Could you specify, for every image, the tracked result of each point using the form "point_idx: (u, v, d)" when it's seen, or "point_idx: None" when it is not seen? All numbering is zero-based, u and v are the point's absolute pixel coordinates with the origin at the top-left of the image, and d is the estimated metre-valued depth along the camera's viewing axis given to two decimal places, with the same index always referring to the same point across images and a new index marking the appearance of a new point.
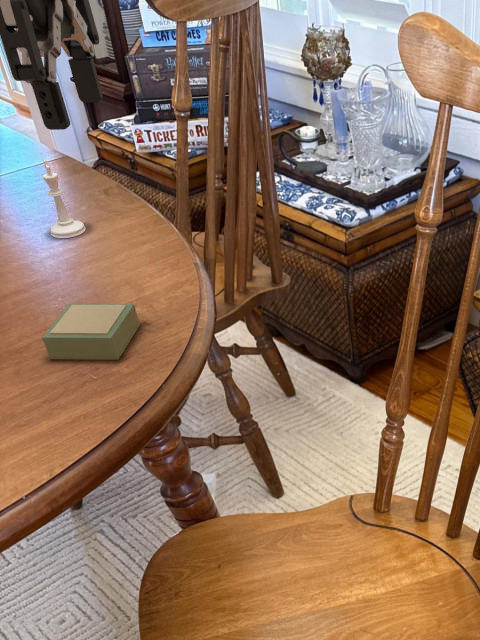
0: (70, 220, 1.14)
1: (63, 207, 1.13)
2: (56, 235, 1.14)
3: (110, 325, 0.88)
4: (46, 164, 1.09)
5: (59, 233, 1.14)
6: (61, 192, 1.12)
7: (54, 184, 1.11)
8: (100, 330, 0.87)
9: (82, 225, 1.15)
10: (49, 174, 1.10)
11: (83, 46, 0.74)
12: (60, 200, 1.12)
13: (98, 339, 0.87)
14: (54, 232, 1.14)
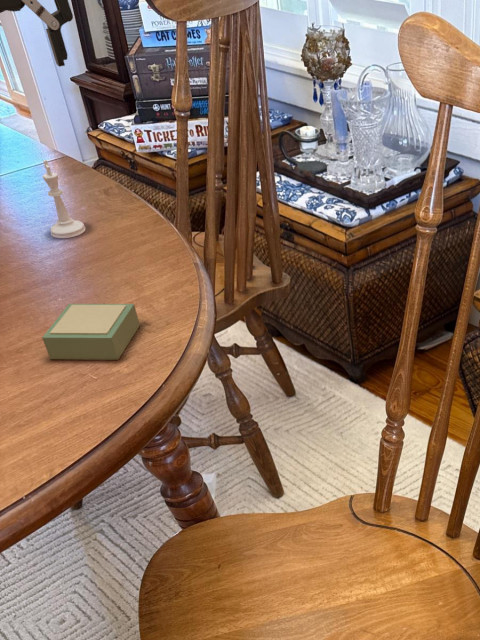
0: (70, 220, 1.14)
1: (63, 207, 1.13)
2: (56, 235, 1.14)
3: (110, 325, 0.88)
4: (46, 164, 1.09)
5: (59, 233, 1.14)
6: (61, 192, 1.12)
7: (54, 184, 1.11)
8: (100, 330, 0.87)
9: (82, 225, 1.15)
10: (49, 174, 1.10)
11: (42, 20, 0.92)
12: (60, 200, 1.12)
13: (98, 339, 0.87)
14: (54, 232, 1.14)
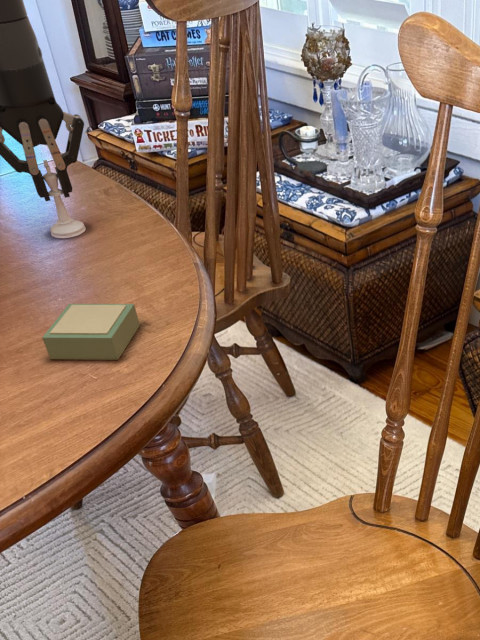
0: (70, 220, 1.14)
1: (63, 207, 1.13)
2: (56, 235, 1.14)
3: (110, 325, 0.88)
4: (46, 164, 1.09)
5: (59, 233, 1.14)
6: (61, 192, 1.12)
7: (54, 184, 1.11)
8: (100, 330, 0.87)
9: (82, 225, 1.15)
10: (49, 174, 1.10)
11: (53, 158, 1.08)
12: (60, 200, 1.12)
13: (98, 339, 0.87)
14: (54, 232, 1.14)
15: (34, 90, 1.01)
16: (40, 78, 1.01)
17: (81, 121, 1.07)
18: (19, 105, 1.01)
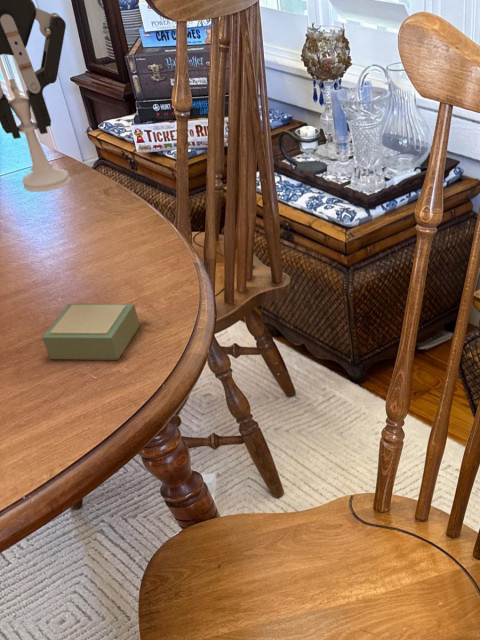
0: (49, 167, 0.83)
1: (39, 148, 0.82)
2: (30, 188, 0.83)
3: (110, 325, 0.88)
4: (13, 85, 0.78)
5: (34, 184, 0.82)
6: (35, 126, 0.80)
7: (25, 113, 0.79)
8: (100, 330, 0.87)
9: (66, 174, 0.84)
10: (18, 99, 0.78)
11: (22, 76, 0.77)
12: (34, 138, 0.81)
13: (98, 339, 0.87)
14: (27, 183, 0.83)
15: None
16: None
17: (61, 21, 0.76)
18: None
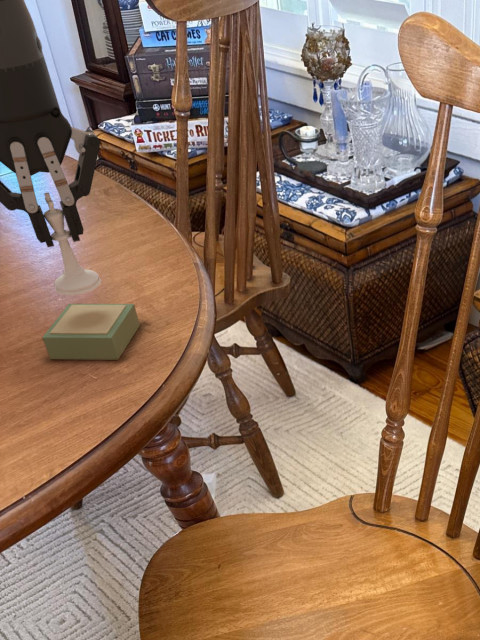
0: (81, 271, 0.85)
1: (71, 254, 0.84)
2: (62, 291, 0.85)
3: (110, 325, 0.88)
4: (48, 198, 0.80)
5: (66, 289, 0.85)
6: (68, 235, 0.83)
7: (59, 224, 0.82)
8: (100, 330, 0.87)
9: (97, 277, 0.86)
10: (52, 211, 0.81)
11: (57, 190, 0.79)
12: (67, 245, 0.83)
13: (98, 339, 0.87)
14: (59, 287, 0.85)
15: (31, 98, 0.72)
16: (40, 80, 0.72)
17: (96, 140, 0.78)
18: (10, 119, 0.72)
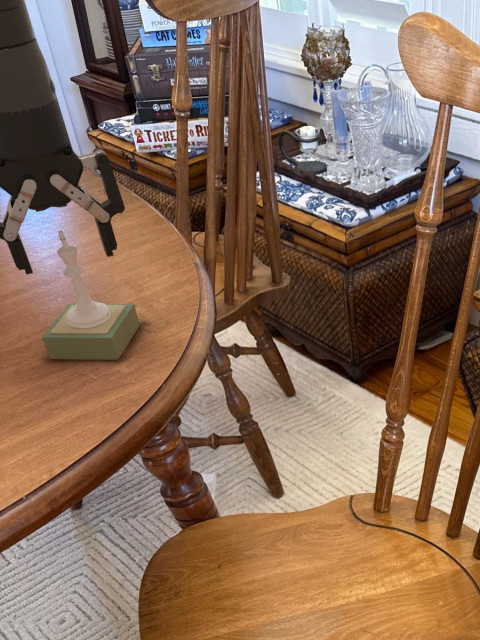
0: (92, 304, 0.88)
1: (83, 289, 0.87)
2: (74, 324, 0.88)
3: (110, 325, 0.88)
4: (62, 236, 0.83)
5: (78, 322, 0.87)
6: (81, 270, 0.85)
7: (72, 260, 0.84)
8: (100, 330, 0.87)
9: (107, 310, 0.89)
10: (65, 248, 0.83)
11: (91, 213, 0.82)
12: (79, 280, 0.86)
13: (98, 339, 0.87)
14: (71, 320, 0.88)
15: (45, 139, 0.74)
16: (53, 121, 0.74)
17: (103, 156, 0.79)
18: (24, 158, 0.74)
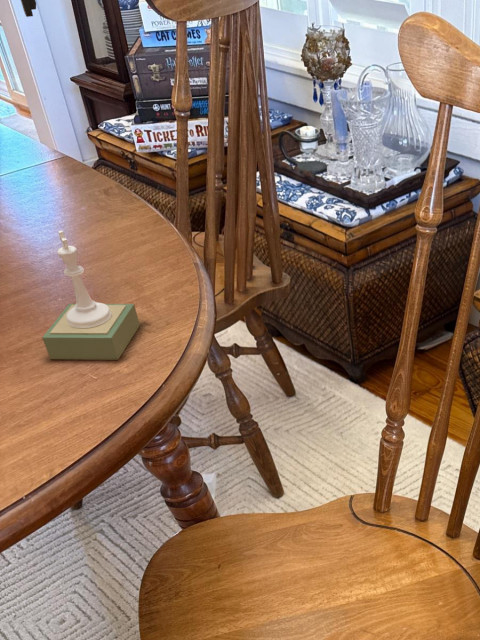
0: (92, 304, 0.88)
1: (83, 289, 0.87)
2: (74, 324, 0.88)
3: (110, 325, 0.88)
4: (62, 236, 0.83)
5: (78, 322, 0.87)
6: (81, 270, 0.85)
7: (72, 260, 0.84)
8: (100, 330, 0.87)
9: (107, 310, 0.89)
10: (66, 248, 0.83)
11: None
12: (79, 280, 0.86)
13: (98, 339, 0.87)
14: (71, 320, 0.88)
15: None
16: None
17: None
18: None
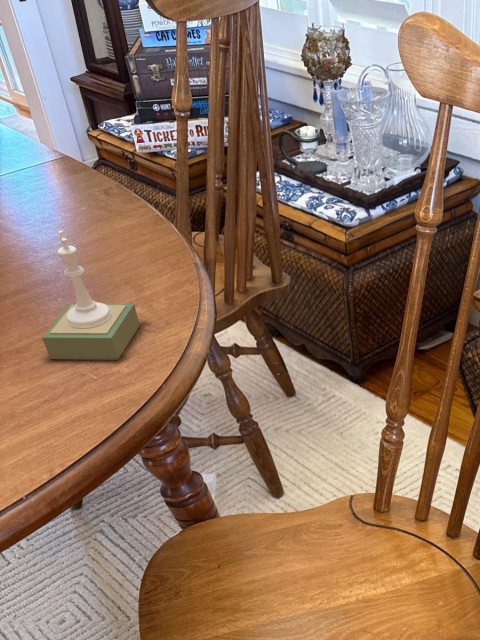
0: (92, 304, 0.88)
1: (83, 289, 0.87)
2: (74, 324, 0.88)
3: (110, 325, 0.88)
4: (62, 236, 0.83)
5: (78, 322, 0.87)
6: (81, 270, 0.85)
7: (72, 260, 0.84)
8: (100, 330, 0.87)
9: (107, 310, 0.89)
10: (66, 248, 0.83)
11: None
12: (79, 280, 0.86)
13: (98, 339, 0.87)
14: (71, 320, 0.88)
15: None
16: None
17: None
18: None
